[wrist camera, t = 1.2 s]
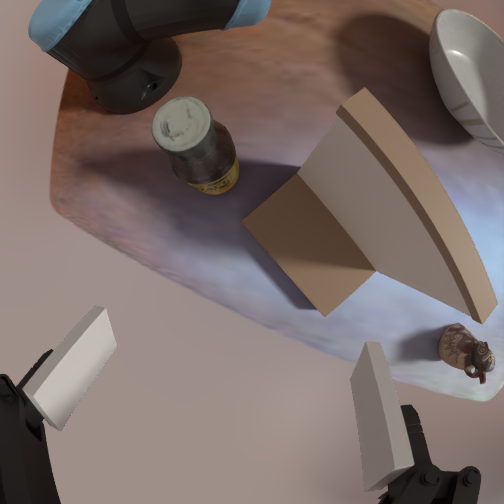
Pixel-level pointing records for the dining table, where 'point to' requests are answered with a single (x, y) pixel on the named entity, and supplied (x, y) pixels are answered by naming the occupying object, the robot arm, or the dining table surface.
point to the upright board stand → (370, 218)
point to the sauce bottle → (196, 145)
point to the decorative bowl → (470, 74)
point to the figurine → (466, 352)
